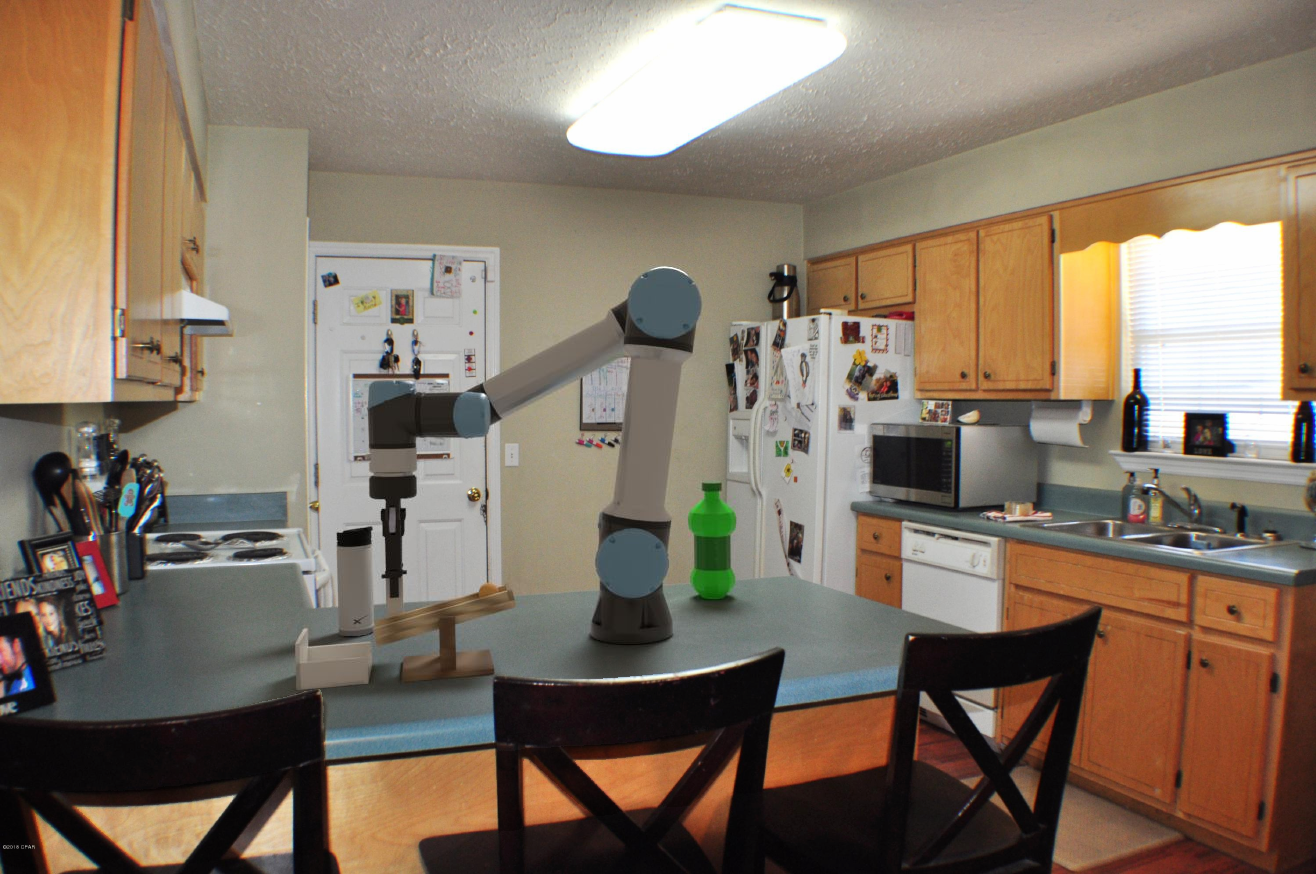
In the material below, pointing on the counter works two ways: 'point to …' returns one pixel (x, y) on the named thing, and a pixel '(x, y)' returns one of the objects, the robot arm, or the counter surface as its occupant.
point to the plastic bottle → (712, 544)
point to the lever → (429, 615)
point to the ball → (487, 590)
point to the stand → (447, 659)
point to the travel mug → (355, 582)
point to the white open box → (331, 664)
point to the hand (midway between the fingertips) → (394, 615)
